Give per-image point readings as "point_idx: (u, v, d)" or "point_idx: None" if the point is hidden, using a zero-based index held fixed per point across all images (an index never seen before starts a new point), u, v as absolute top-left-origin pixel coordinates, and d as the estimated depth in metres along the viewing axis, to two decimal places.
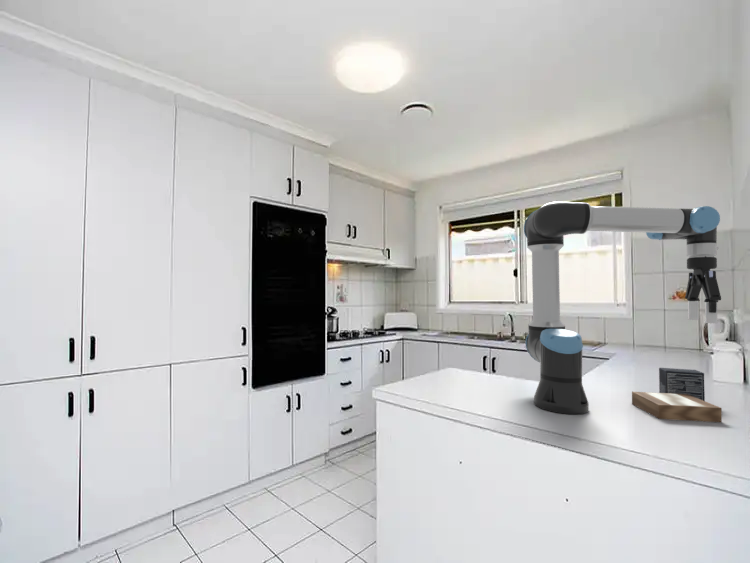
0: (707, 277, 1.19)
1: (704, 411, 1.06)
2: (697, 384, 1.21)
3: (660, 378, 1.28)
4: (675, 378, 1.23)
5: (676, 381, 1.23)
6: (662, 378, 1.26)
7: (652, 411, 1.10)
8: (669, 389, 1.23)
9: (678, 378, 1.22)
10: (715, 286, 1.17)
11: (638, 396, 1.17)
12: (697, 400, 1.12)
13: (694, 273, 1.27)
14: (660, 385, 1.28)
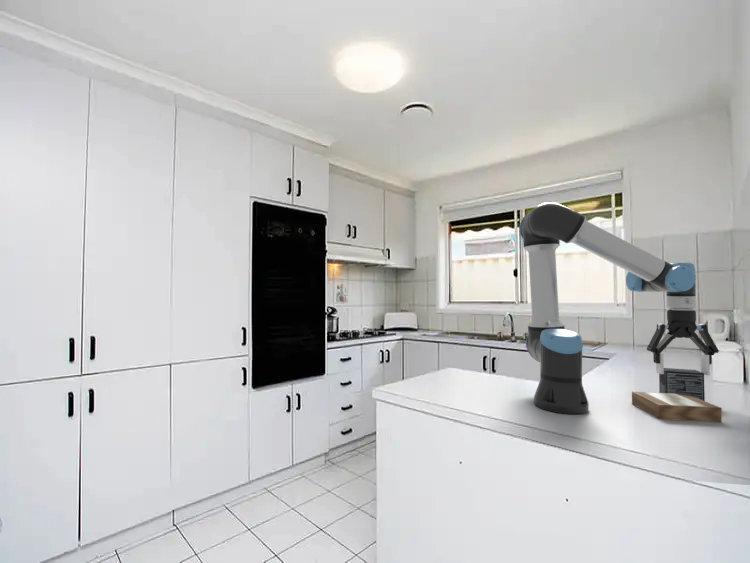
0: (656, 329, 1.27)
1: (704, 411, 1.06)
2: (697, 384, 1.21)
3: (660, 378, 1.28)
4: (675, 378, 1.23)
5: (676, 381, 1.23)
6: (662, 378, 1.26)
7: (652, 411, 1.10)
8: (669, 389, 1.23)
9: (678, 378, 1.22)
10: (655, 338, 1.25)
11: (638, 396, 1.17)
12: (697, 400, 1.12)
13: None
14: (660, 385, 1.28)
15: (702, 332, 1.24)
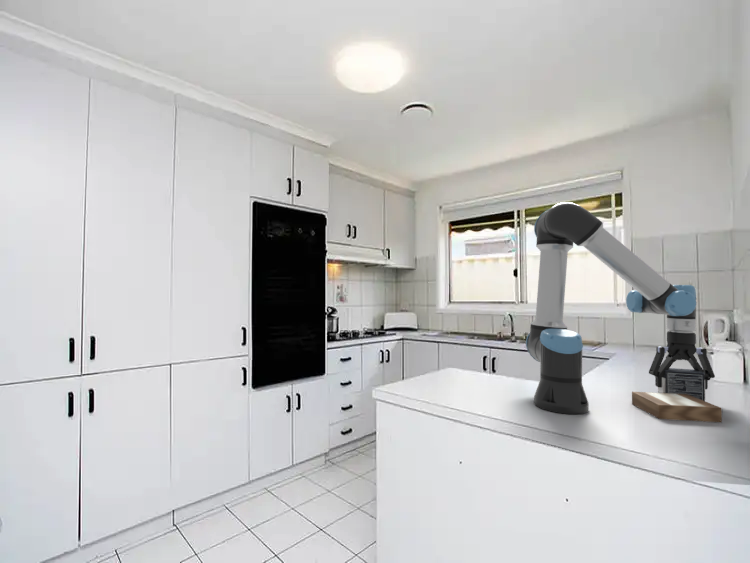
0: (656, 352, 1.27)
1: (704, 411, 1.06)
2: (697, 384, 1.21)
3: None
4: (675, 378, 1.23)
5: (676, 381, 1.23)
6: None
7: (652, 411, 1.10)
8: (670, 389, 1.23)
9: (678, 378, 1.22)
10: (656, 362, 1.25)
11: (638, 396, 1.17)
12: (697, 400, 1.12)
13: None
14: None
15: (701, 356, 1.24)
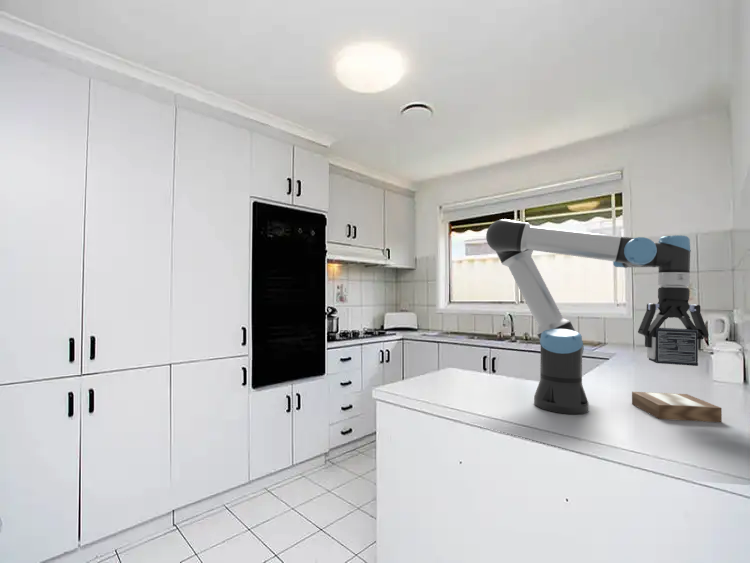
0: None
1: (704, 411, 1.06)
2: (689, 343, 1.11)
3: None
4: (667, 336, 1.12)
5: (668, 340, 1.12)
6: None
7: (652, 411, 1.10)
8: (660, 349, 1.13)
9: (670, 337, 1.12)
10: (646, 320, 1.15)
11: (638, 396, 1.17)
12: (697, 400, 1.12)
13: None
14: None
15: (694, 313, 1.14)
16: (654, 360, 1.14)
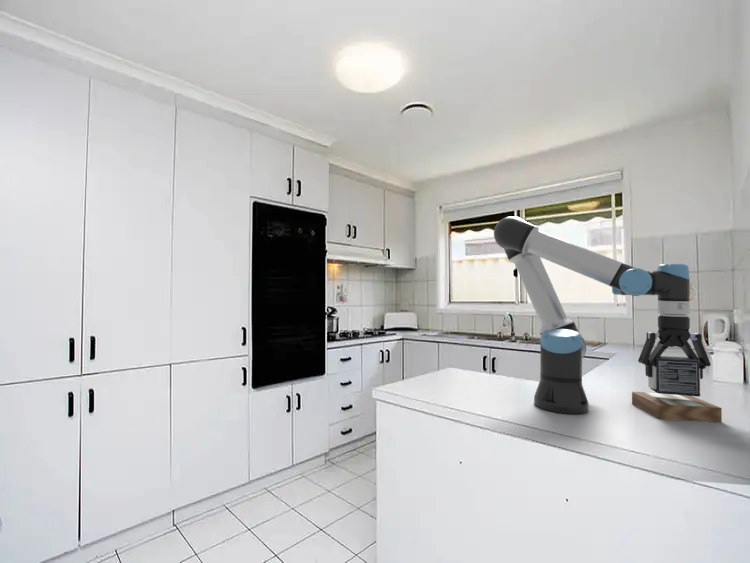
0: (646, 339, 1.15)
1: (704, 411, 1.06)
2: (691, 373, 1.09)
3: None
4: (667, 366, 1.11)
5: (668, 370, 1.11)
6: None
7: (652, 411, 1.10)
8: (661, 379, 1.12)
9: (671, 367, 1.11)
10: (646, 349, 1.14)
11: (638, 396, 1.17)
12: (697, 400, 1.12)
13: None
14: None
15: (695, 342, 1.12)
16: (655, 390, 1.13)
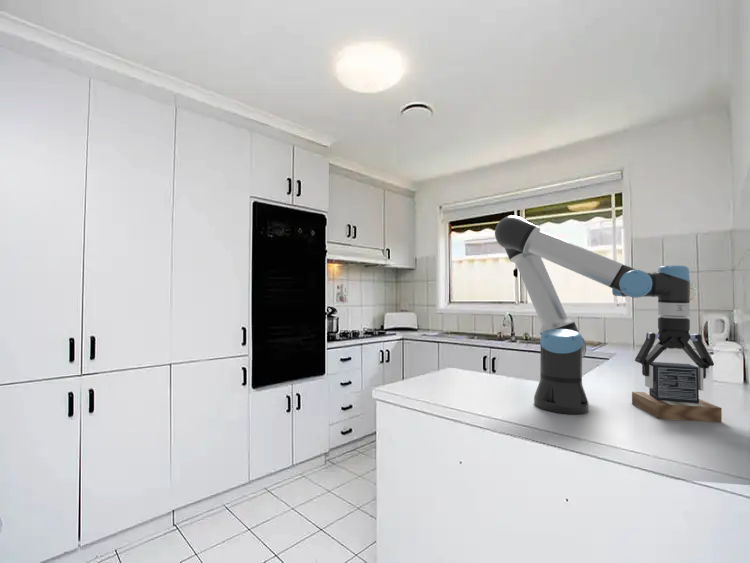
0: (646, 339, 1.15)
1: (704, 411, 1.06)
2: (690, 380, 1.09)
3: None
4: (667, 373, 1.11)
5: (668, 377, 1.11)
6: None
7: (652, 411, 1.10)
8: (660, 385, 1.12)
9: (670, 373, 1.11)
10: (644, 349, 1.14)
11: (638, 396, 1.17)
12: None
13: None
14: None
15: (696, 343, 1.12)
16: (654, 396, 1.13)
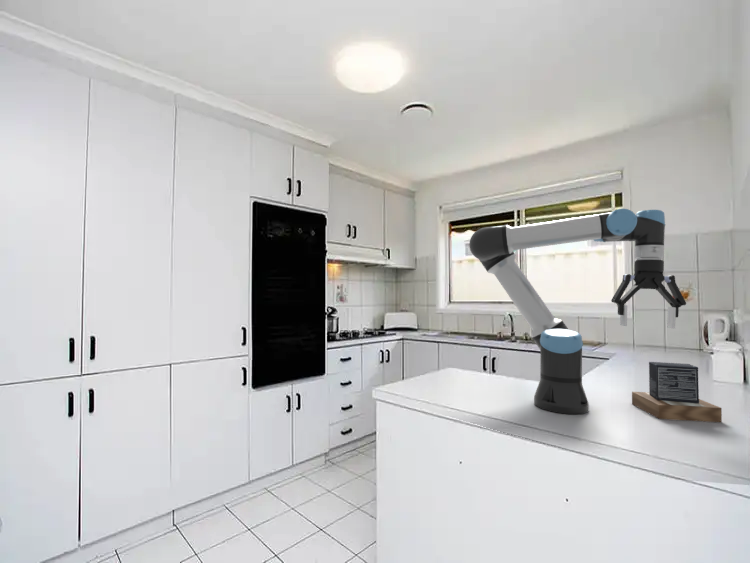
0: (622, 280, 1.22)
1: (704, 411, 1.06)
2: (690, 380, 1.09)
3: (650, 373, 1.16)
4: (667, 373, 1.11)
5: (668, 377, 1.11)
6: (652, 373, 1.15)
7: (652, 411, 1.10)
8: (660, 385, 1.12)
9: (670, 373, 1.11)
10: (619, 289, 1.21)
11: (638, 396, 1.17)
12: None
13: None
14: (650, 381, 1.16)
15: (670, 284, 1.18)
16: (654, 396, 1.13)
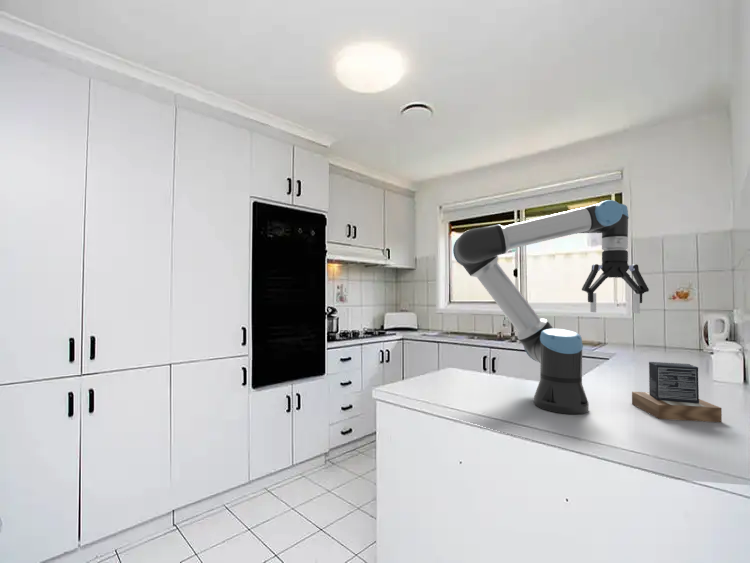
0: (591, 270, 1.31)
1: (704, 411, 1.06)
2: (690, 380, 1.09)
3: (650, 373, 1.16)
4: (667, 373, 1.11)
5: (668, 377, 1.11)
6: (652, 373, 1.15)
7: (652, 411, 1.10)
8: (660, 385, 1.12)
9: (670, 373, 1.11)
10: (589, 278, 1.30)
11: (638, 396, 1.17)
12: None
13: None
14: (650, 381, 1.16)
15: (634, 272, 1.28)
16: (654, 396, 1.13)
